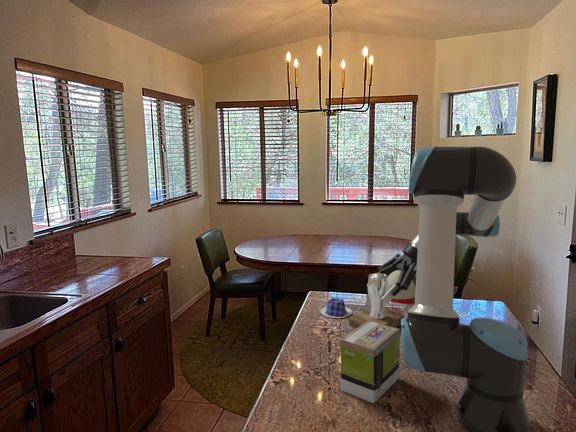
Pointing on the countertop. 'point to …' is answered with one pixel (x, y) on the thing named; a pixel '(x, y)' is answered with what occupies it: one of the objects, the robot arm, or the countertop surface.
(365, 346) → the tea box
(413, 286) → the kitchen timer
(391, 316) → the walnut serving board
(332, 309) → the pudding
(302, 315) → the countertop surface
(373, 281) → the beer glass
